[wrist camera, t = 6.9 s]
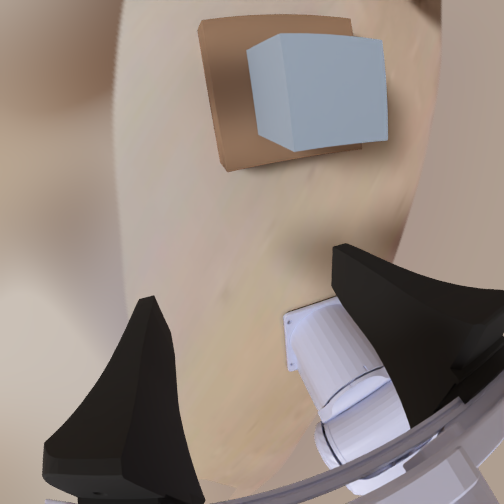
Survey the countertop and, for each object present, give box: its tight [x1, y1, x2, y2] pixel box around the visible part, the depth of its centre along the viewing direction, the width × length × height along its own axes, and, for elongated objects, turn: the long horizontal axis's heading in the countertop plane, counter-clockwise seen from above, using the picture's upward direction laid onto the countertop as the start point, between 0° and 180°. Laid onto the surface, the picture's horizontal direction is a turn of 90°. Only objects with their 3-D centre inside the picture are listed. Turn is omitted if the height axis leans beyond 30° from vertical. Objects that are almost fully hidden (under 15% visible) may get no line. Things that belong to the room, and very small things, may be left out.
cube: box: [246, 33, 388, 152], centre depth 12 cm, size 5×5×5 cm
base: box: [198, 14, 362, 172], centre depth 16 cm, size 9×9×3 cm
